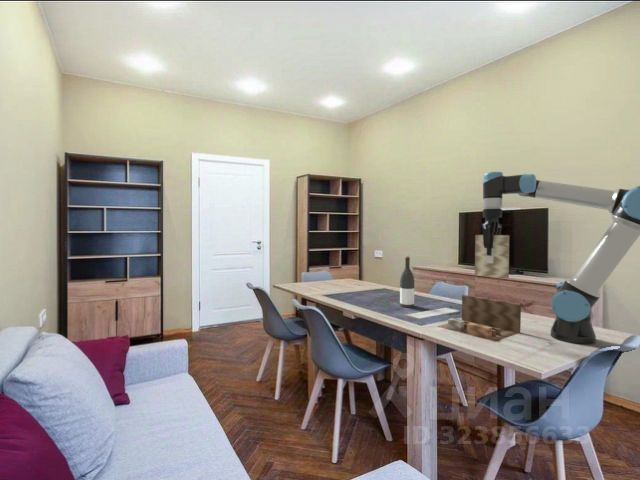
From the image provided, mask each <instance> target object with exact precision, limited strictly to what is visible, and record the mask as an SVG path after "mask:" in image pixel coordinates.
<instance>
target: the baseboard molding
mask: <svg viewBox="0 0 640 480" xmlns="http://www.w3.org/2000/svg"><path fill="white" fill-rule="evenodd" d="M449 307H450V308H449ZM452 308H453V306H451V305H450V306H445V307H442V308H436V309H429V310H424V311H419V312H418V311H417V312H415V313H414V312H413V313H408V314H404V317H407V318H410V319H411V318H412V319H414V320H422V319H427V318H431V317H435V316H441V315H447V316H448V315H452V314H458V313H460V309H459V308H458V309H454V308H453V309H452Z"/></svg>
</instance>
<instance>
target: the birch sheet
mask: <svg viewBox="0 0 640 480" xmlns="http://www.w3.org/2000/svg"><path fill="white" fill-rule="evenodd" d="M474 237H475V239H474V240H475V241H474V242H475V245H474V248H475V249H474V275H475V276H479V277H480V276H481V277H490V278H498V279H509V278H510V277H509V276H510V273H509V272H510V270H509V269H510V235H509V234H505V235H504V234H501V235H493V248H494V263H487V248H484V244H483V234H475V236H474Z"/></svg>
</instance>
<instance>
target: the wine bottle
mask: <svg viewBox="0 0 640 480" xmlns="http://www.w3.org/2000/svg"><path fill="white" fill-rule="evenodd" d="M404 258H405V259H404V260H405V265H404V267H405V268H404V270H403V271H402V273H401V275H400V278H399V306H400V307H403V308H413V307H415V276H414V273H413V272H412V270H411V267H410V266H411V265H410V261H411V257H410V254H405V257H404Z"/></svg>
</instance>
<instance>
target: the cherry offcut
mask: <svg viewBox="0 0 640 480" xmlns="http://www.w3.org/2000/svg"><path fill="white" fill-rule="evenodd" d="M467 333H468V334H472V335H476V336H480V337H483V338H487V339H489V338H492V327H488V326H483V325H479V324H475V323H468V324H467Z"/></svg>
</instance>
